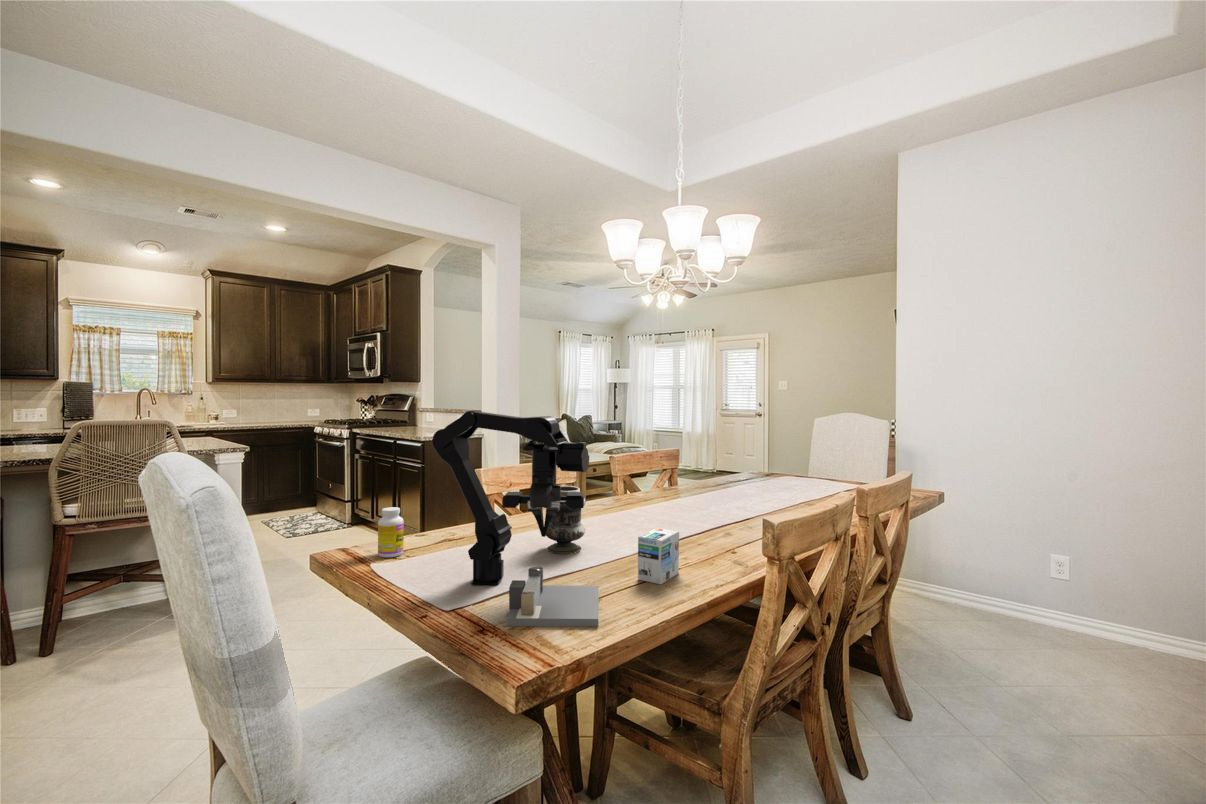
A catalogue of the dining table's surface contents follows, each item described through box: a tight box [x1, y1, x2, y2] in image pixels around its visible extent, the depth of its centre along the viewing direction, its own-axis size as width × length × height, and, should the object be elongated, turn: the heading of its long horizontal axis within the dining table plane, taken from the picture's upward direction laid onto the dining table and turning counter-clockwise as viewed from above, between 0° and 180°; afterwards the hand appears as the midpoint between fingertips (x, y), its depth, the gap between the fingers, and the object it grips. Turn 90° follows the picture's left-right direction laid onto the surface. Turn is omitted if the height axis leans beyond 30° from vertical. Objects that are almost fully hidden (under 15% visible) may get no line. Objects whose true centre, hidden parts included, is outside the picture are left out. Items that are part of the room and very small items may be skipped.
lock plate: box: [506, 579, 600, 627], centre depth 115 cm, size 18×18×6 cm
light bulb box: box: [637, 527, 680, 585], centre depth 136 cm, size 11×7×11 cm, turn 148°
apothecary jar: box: [545, 485, 586, 555], centre depth 157 cm, size 12×12×18 cm
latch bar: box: [521, 566, 544, 615], centre depth 115 cm, size 15×3×5 cm, turn 0°
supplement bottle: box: [377, 506, 405, 559], centre depth 151 cm, size 7×7×13 cm
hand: (543, 536), depth 127 cm, fingers closed
